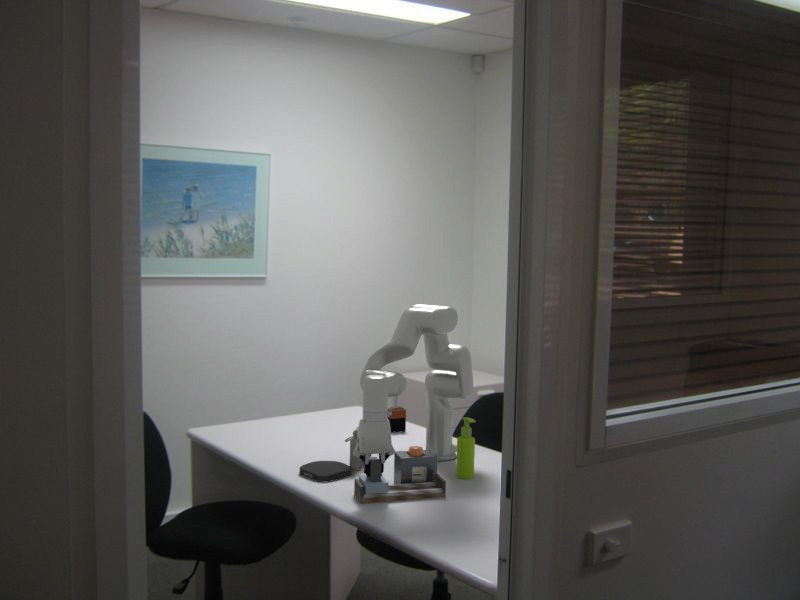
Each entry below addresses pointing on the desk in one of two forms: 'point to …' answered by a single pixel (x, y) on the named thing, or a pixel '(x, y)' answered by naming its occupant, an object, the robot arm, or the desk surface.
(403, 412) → the battery
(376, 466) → the carriage
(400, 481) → the cabinet
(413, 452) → the button
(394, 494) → the rail
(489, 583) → the desk surface
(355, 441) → the geiger counter
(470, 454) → the soap dispenser
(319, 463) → the media streaming box
